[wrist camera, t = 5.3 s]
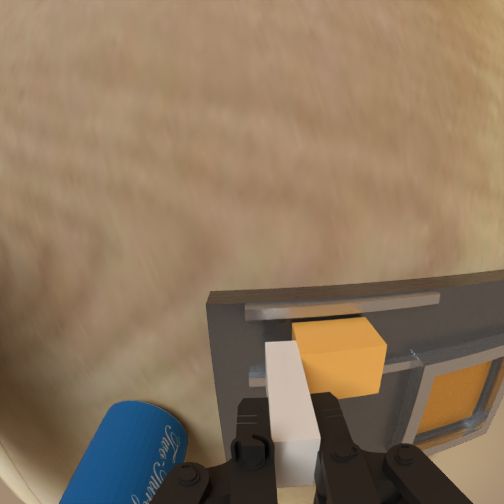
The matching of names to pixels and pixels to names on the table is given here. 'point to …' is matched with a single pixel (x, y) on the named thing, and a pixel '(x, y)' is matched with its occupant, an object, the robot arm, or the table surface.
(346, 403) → the panel
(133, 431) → the beverage can
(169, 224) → the table surface
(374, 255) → the table surface
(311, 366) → the block
